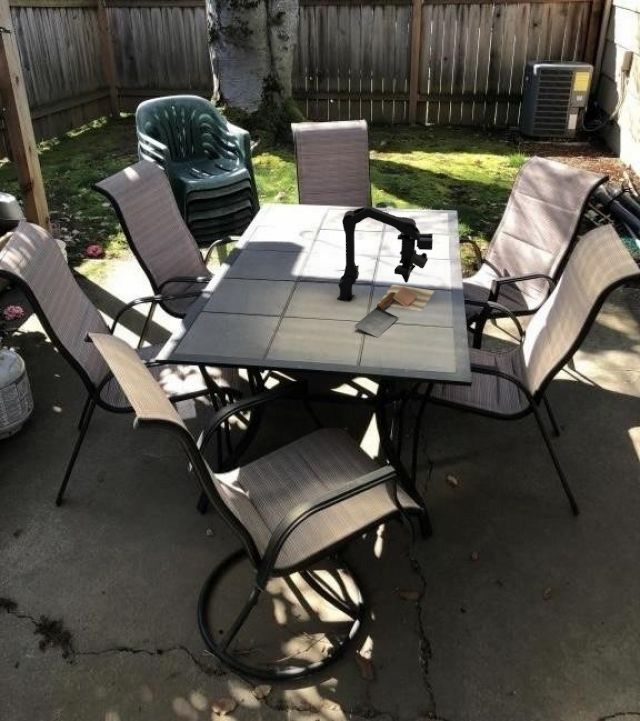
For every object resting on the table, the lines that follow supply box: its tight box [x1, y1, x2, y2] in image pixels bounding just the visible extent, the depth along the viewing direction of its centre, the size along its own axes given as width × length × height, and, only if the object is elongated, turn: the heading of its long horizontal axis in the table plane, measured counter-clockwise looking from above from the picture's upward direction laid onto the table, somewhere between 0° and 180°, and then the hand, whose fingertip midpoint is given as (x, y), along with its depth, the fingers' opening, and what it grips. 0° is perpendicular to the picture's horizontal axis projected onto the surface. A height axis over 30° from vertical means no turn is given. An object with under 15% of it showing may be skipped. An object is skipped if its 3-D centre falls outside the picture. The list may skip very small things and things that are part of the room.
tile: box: [393, 286, 417, 307], centre depth 289 cm, size 2×8×10 cm
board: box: [378, 284, 435, 312], centre depth 294 cm, size 22×20×1 cm
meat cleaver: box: [354, 292, 399, 338], centre depth 278 cm, size 34×11×4 cm, turn 148°
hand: (406, 282), depth 289 cm, fingers closed
